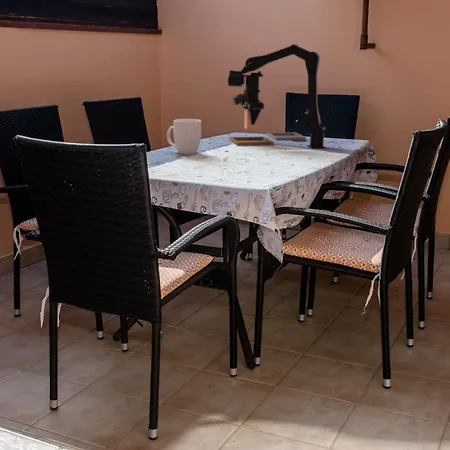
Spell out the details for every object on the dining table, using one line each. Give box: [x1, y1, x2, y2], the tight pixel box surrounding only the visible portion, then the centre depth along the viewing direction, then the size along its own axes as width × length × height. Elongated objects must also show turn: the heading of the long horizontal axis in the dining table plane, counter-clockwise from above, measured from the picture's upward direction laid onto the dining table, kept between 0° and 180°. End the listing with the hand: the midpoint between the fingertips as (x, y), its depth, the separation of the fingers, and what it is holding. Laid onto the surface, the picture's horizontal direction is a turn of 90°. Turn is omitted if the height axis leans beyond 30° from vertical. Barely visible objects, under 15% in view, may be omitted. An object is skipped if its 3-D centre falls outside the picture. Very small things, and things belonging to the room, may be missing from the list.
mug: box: [166, 118, 202, 155], centre depth 260 cm, size 15×11×13 cm
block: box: [243, 109, 260, 130], centre depth 283 cm, size 5×5×8 cm
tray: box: [266, 131, 307, 142], centre depth 303 cm, size 16×14×2 cm
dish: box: [229, 136, 275, 147], centre depth 286 cm, size 16×16×2 cm
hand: (251, 123), depth 284 cm, fingers closed on block, 5 cm apart
